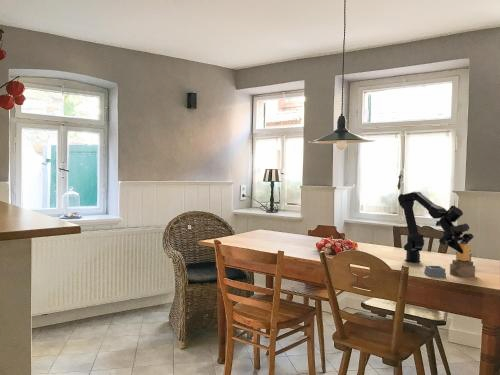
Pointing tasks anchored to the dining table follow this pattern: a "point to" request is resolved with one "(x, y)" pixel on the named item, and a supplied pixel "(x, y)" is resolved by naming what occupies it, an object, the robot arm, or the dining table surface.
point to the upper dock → (462, 268)
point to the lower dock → (435, 271)
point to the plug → (464, 252)
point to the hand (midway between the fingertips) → (465, 252)
